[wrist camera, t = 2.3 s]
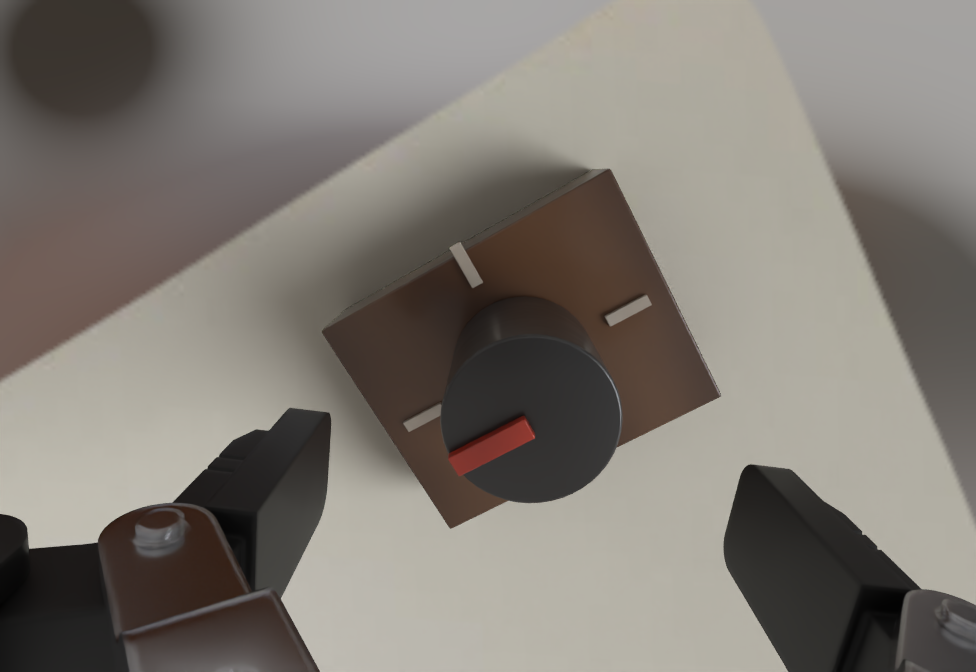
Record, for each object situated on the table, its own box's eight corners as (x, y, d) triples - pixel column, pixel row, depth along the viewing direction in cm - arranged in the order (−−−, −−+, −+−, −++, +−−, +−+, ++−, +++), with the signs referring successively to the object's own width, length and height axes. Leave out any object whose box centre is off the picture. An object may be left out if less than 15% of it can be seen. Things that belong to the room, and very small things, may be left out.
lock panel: (589, 160, 20) (606, 158, 17) (696, 373, 22) (728, 406, 19) (339, 303, 21) (313, 324, 18) (459, 491, 23) (454, 539, 20)
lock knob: (553, 269, 18) (572, 304, 13) (617, 390, 19) (656, 461, 14) (427, 338, 19) (403, 393, 14) (495, 452, 20) (495, 539, 15)
